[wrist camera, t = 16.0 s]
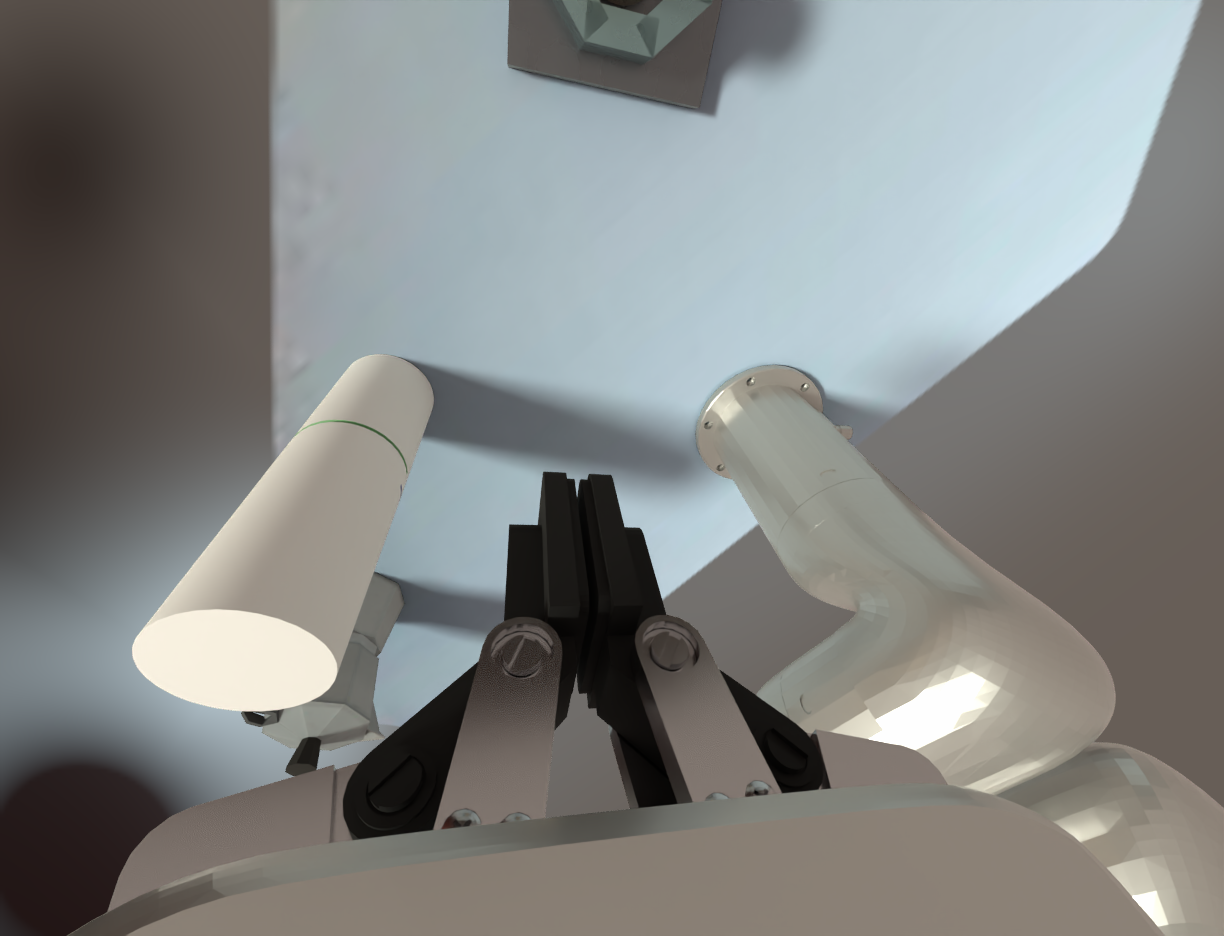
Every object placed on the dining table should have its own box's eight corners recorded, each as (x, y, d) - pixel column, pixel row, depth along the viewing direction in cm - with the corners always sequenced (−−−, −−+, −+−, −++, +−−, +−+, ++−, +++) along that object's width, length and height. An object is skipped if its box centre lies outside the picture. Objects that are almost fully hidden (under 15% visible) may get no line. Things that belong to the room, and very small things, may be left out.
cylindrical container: (339, 419, 40) (145, 706, 20) (345, 342, 36) (117, 597, 16) (426, 439, 42) (332, 715, 22) (440, 368, 39) (343, 621, 19)
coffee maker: (436, 599, 54) (402, 767, 40) (391, 636, 57) (343, 807, 43) (310, 538, 47) (211, 719, 32) (265, 584, 49) (154, 770, 35)
